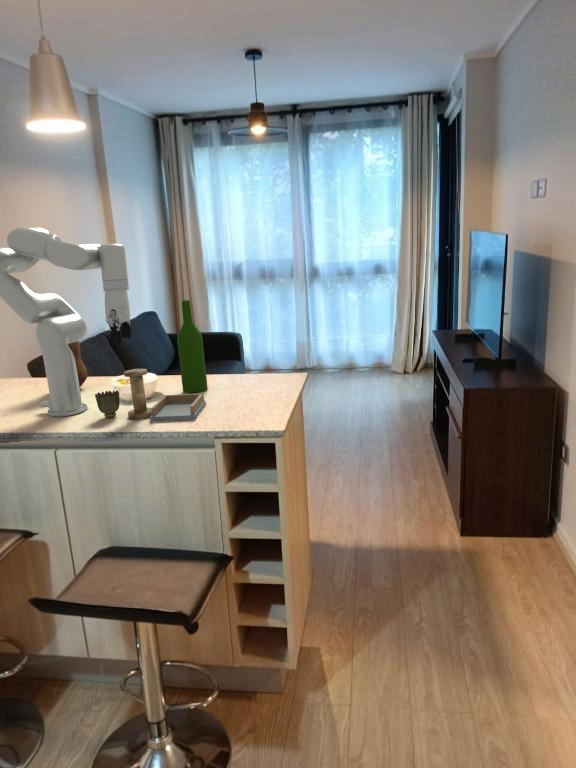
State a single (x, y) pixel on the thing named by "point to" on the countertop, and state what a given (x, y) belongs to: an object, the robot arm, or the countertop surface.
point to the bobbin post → (138, 394)
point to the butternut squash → (78, 362)
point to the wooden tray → (178, 407)
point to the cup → (108, 403)
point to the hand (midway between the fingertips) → (121, 340)
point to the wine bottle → (191, 354)
